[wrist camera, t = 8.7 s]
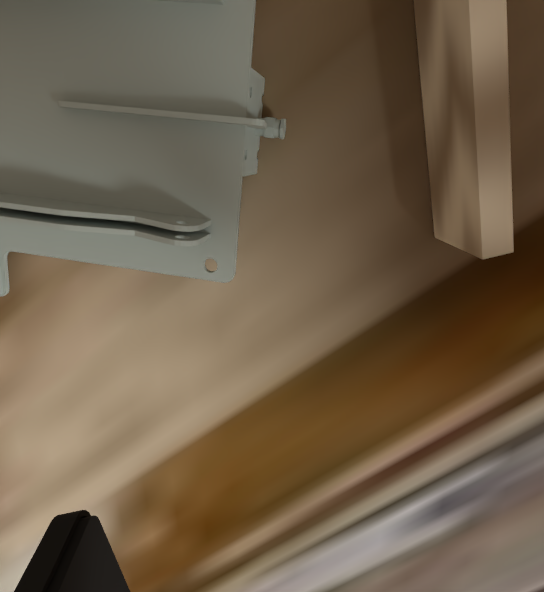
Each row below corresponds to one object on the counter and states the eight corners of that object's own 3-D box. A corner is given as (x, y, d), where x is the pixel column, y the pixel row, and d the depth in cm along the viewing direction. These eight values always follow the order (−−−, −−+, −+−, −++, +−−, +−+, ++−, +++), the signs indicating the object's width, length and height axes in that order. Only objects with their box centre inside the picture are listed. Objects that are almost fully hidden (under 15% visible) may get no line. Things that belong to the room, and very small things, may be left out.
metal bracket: (288, -219, 11) (239, 358, 16) (311, -94, 16) (270, 304, 21) (-219, -214, 13) (-127, 295, 17) (-47, -105, 18) (-11, 261, 23)
